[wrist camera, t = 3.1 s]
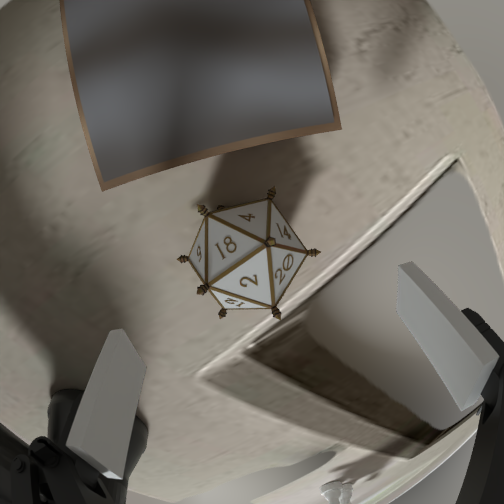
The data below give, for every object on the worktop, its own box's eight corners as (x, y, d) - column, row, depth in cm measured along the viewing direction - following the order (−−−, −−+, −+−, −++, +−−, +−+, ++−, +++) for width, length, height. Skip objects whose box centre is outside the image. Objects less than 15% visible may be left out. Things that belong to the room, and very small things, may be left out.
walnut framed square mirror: (314, 125, 20) (344, 130, 15) (130, 173, 21) (99, 193, 15) (270, -35, 14) (284, -73, 9) (91, 14, 14) (56, -8, 9)
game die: (240, 197, 26) (286, 141, 17) (296, 275, 26) (367, 257, 17) (154, 254, 23) (153, 218, 14) (216, 340, 23) (256, 360, 14)
